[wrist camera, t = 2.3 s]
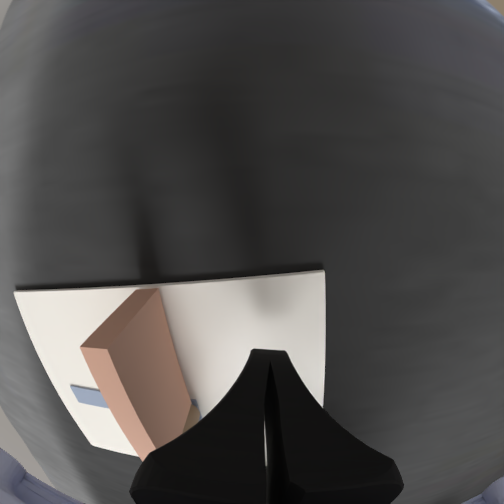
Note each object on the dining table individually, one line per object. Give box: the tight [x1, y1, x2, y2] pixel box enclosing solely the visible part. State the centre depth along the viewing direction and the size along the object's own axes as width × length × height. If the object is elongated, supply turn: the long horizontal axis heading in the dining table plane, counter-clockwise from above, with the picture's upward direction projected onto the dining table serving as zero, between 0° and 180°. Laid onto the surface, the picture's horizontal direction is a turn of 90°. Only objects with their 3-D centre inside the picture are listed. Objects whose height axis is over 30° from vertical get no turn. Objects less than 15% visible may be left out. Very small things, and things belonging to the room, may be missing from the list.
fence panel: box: [80, 288, 200, 461], centre depth 11 cm, size 9×2×5 cm, turn 6°
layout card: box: [14, 270, 326, 466], centre depth 15 cm, size 15×19×1 cm
